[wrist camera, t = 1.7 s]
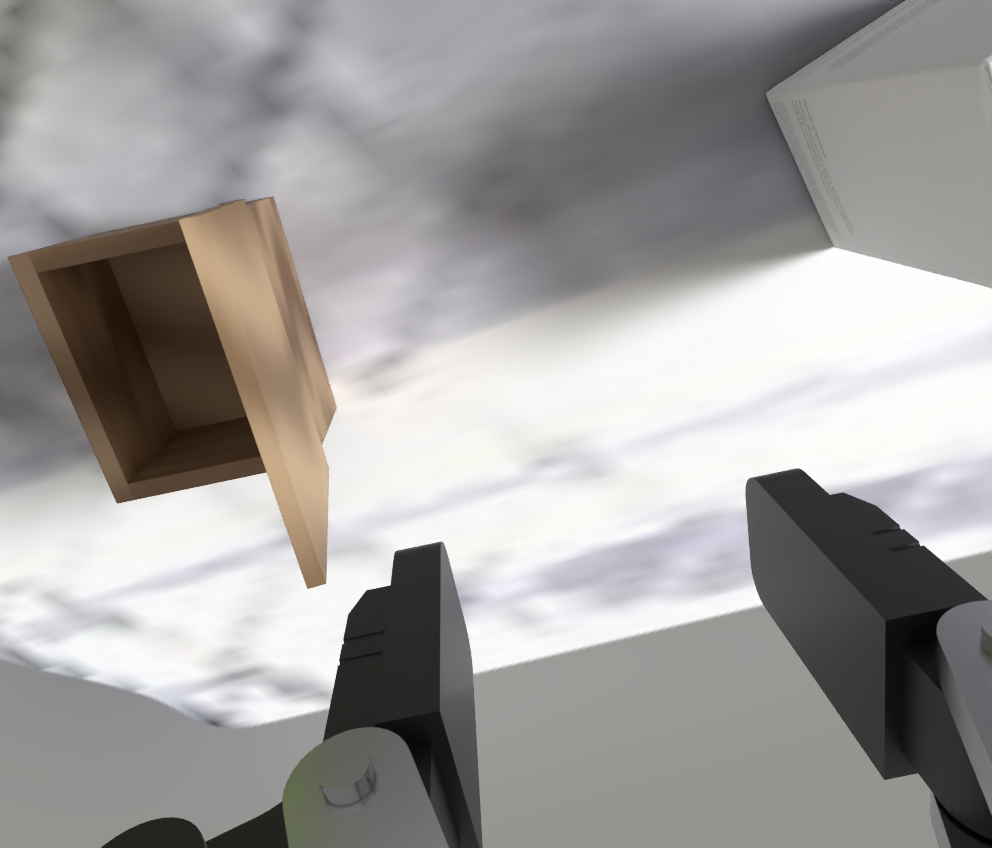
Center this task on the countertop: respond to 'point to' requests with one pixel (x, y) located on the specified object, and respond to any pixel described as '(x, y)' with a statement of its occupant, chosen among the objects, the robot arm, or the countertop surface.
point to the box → (160, 352)
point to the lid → (264, 374)
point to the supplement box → (901, 137)
